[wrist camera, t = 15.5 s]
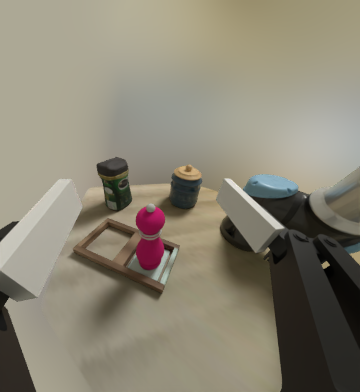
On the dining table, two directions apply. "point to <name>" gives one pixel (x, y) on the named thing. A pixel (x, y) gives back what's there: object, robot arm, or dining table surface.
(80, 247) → the brown wooden frame
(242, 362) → the dining table surface
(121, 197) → the coffee jar
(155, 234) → the pepper mill
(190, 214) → the dining table surface
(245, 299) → the dining table surface
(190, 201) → the canister
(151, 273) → the pad
